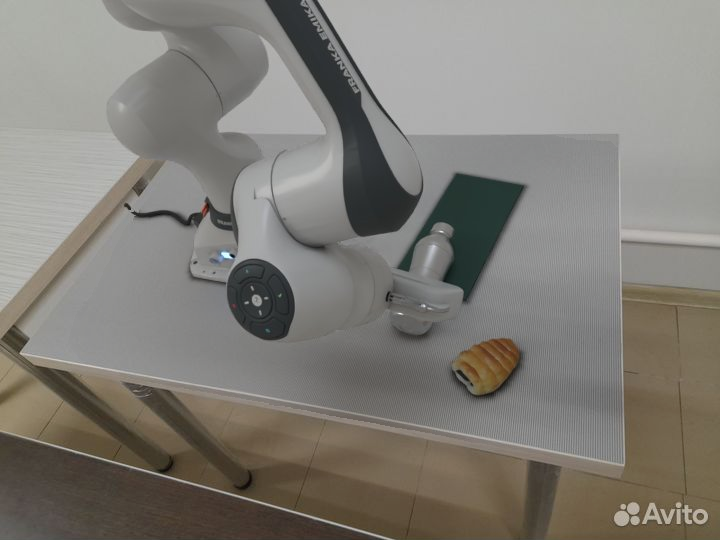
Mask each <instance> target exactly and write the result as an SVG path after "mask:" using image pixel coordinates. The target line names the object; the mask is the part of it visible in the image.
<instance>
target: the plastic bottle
mask: <svg viewBox="0 0 720 540" xmlns="http://www.w3.org/2000/svg"><path fill="white" fill-rule="evenodd" d="M453 236H454V229H453V228H452V226H450V225H449V224H446V223H442V222H440V223H436V224H435V225H434V226H433V228H432V230H431V231H430V233H429V236H426V237H424V238H422V239H421V240H420V241H419V242H418V243H417V244H416V246H415V249H414V253H413V257H412V262H411V266H410V269H409V272H410V273H413V274H417V275H420V276H424V277H427V278H431V279H434V280H438V281H441V282H443V280H444V278H445V276H446V274H447V272H448V270H449V268H450V267H451V265H452V263H453V261H454V250H453V247H452V245H451V242H452V240H453ZM388 316H389V320H390V322H391V324H392V326H393V327H395V328H396V329H397V330H398V331H401V332H402V333H405V334H408V335H412V336H420V335H423V334H425V333H426V332H428V331H429V330H430V329H431V327H432V325H433V323H434V322H432V321H425V320H420V319H417V318H413V317H410V316H407V315H404V314H401V313H398V312H395V311H392V310H389V315H388Z"/></svg>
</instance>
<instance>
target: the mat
mask: <svg viewBox="0 0 720 540" xmlns="http://www.w3.org/2000/svg"><path fill="white" fill-rule="evenodd" d="M523 189H524V184H518V183H513V182H507V181H501V180H496V179H490V178H485V177H481V176H474V175H468V174H463V173H455V175H454V176H453V178H452V180H451V182H450V183H449V185H448V187H447V188H446V190H445V191H444V193H443V195H442V196H441V198H440V199H439V201H438V203H437V204H436V206H435V208H434V209H433V210H432V212H431V214H430V215H429V217H428V219H427V221H426V222H425V224H424V225H423V226H422V228H421V230H420V231H419V233H418V235H417V236H416V238H415V240H414V241H413V243H412V244H411V246H410V247H409V250H408V251H407V253H406V254H405V256H404V257H403V259H402V261H401V262H400V264H399V266H398V267H397V269H399V270H403V271H406V272H409V269H410V266H411V262H412V257H413V253H414V249H415V246H416V244H417V243H418V242H419V241H420V240H421V239H422V238H424V237H426V236H429V233H430V231H431V230H432V228H433V226H434V225H435V224H436V223H440V222H442V223H446V224H449V225H450V226H452V228H453V229H454V236H453V240H452V242H451V245H452V247H453V250H454V261H453V263H452V265H451V267H450V268H449V270H448V272H447V274H446V276H445V278H444V280H443V282H445V283H448V284H451V285H455V286H458V287H460V288H461V289H462V290H463V292H464V294H463V300H462V302H466V301H467V299H468V297H469V295H470V293H471V291H472V289H473V287H474V285H475V283H476V281H477V279H478V277H479V276H480V273H481V272H482V269H483V268H484V266H485V264H486V262H487V260H488V258H489V256H490V254H491V252H492V250H493V248H494V246H495V244H496V242H497V240H498V238H499V236H500V234H501V232H502V230H503V228H504V226H505V224H506V222H507V220H508V218H509V216H510V214H511V212H512V210H513V208H514V206H515V204H516V202H517V201H518V198H519V196H520V194H521V193H522V191H523Z"/></svg>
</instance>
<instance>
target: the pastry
mask: <svg viewBox="0 0 720 540" xmlns="http://www.w3.org/2000/svg"><path fill="white" fill-rule="evenodd" d="M519 360H520V351H519V347H518V346H517V344H515V343H514V341H513V339H511V338H505V337H501V338H500V337H499V338H490V339H488V340H487V341H484V340H482V341H480V342H479V343H478V344H473V345H471V347H470V348H469V349H468V350H463V351H461V352H460V353H459V355H458V356H457V358H456V359H455V360H454V361H452V362H451V364H450V365H451V370H452V371H453V372H454V373H455V376H456V378H457V379H458V380H459V381H460V382H461V383H462V384H464V385H465V386H466V388H467V390H468V391H469V392H470V393H471V394H473V395H475V396H482V395H485V394H486V395H487V394H490V393H493V392H494V391H496V390H497V389H499V388H500V387H501V385H503V384H504V382H505V381H506V380H507V379H508V378H509V377H510V375H511V373H513V371H514V370H515V368H516V367H517V365H518V363H519Z"/></svg>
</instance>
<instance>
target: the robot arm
mask: <svg viewBox="0 0 720 540" xmlns="http://www.w3.org/2000/svg"><path fill="white" fill-rule="evenodd" d="M101 2H102V4H103V6H104V7H105V9H106V11H107V12H108V14H109V15H110V16H111V17H112V18H113V19H114V20H115V21H116V22H118V23H119V24H121V25H122V26H123V27H126V28H128V29H131V30H135V31H141V32H142V31H143V32H155V33H156V32H160V33H161V35H162V36H163V38H164V40H165V42H166V44H167V50H166V51H165V52H164V53H163V54H161V55H159V56H158V57H157V58H155V59H154V60H152V61H151V62H149V63H148V64H146V65H144V66H143V67H141V68H140V69H139V70H137V71H136V72H134V73H133V74H131V75H130V76H128V77H127V79H125V81H124V82H123V83H122V84H121V85H120V86H119V87H118V88H117V89H116V90H115V91H114V92H113V94H112V95H111V96H110V97H109V98H108V99H107V101H106V108H105V109H106V110H105V111H106V118H107V119H106V120H107V123H108V126H109V128H110V130H111V132H112V134H113V135H114V137H115V138H116V140H117V141H118V142H119V143H120V144H121V145H122V147H124V148H125V149H126V150H127V151H129V152H130V153H132V154H134V155H136V156H138V157H141V158H142V159H143V158H144V159H147V160H151V161H152V160H153V161H168V162H173V163H175V164H178V165H180V166H182V167H184V168H185V169H187V170H188V171H189V172H190V174H192V175H193V177H194V178H195V179H196V181H197V183H198V184H199V186H200V188H201V189H202V190H203V191H204V193H205V195H206V197H205V198H204V201H203V202H204V205H203V207H202V209H201V211H199V212H198V211H197V212H193V213H191V214H190V215H189V216H188V218H187V220H185V219H183V218H182V217H181V216H180V215H178V214H177V213H176V212H174V211H171V210H167V209H160V210H154V211H149V212H137V211H135V210H134V212H130V213H131V214H132V215H134V216H135V217H141V218H142V217H143V218H144V217H151V216H157V215H162V214H163V215H171V216H172V217H174V218H175V219H176V220H177V221H179V223H181V224H183V225H186V226H187V225H190V224H191V223H192V222H193V223H194V225H195V227H196V231H195V233H194V237H193V251H192V255H191V258H190V264H189V267H190V272H191V275H192V276H193V277H195V278H198V279H202V280H203V279H204V280H209V281H214V282H221V283H225V294H226V295H225V296H226V300H227V304H228V307H229V311H230V312H231V314H232V317H233V318H234V319H235V321H236V322H237V324H238V325H239V326H240V327H241V328H242V329H243V330H244V331H246V332H247V333H249V334H250V335H252V336H254V337H255V338H257V339H260V340H262V341H264V342H265V341H266V342H270V343H275V344H292V343H301V342H307V341H310V340H315V339H319V338H322V337H326V336H328V335H330V334H333V333H334V332H336V331H344V330H349V329H352V328H356V327H359V326H363V325H366V324H369V323H373V322H374V321H376V320H378V319H379V318H381V317H382V316H383V315H384V314H385V312H386V311H387V310H389V311H390V310H392V311H395V312H398V313H401V314H404V315H407V316H410V317H413V318H417V319H420V320H425V321H432V322H433V323H435V322H444V321H449V320H454V319H456V318H457V317H458V316H459V314H460V312H461V307H462V303H463V294H464V292H463V290H462V289H461V288H460V287H458V286H455V285H451V284H448V283H445V282H441V281H438V280H434V279H431V278H427V277H424V276H420V275H417V274H413V273H410V272H406V271H403V270H399V269H398V268H397V267H392V266H390V265H389V263H388V262H387V260H386V259H385V258H384V257H383V256H382V254H380V252H378V251H376V250H375V249H373V248H371V247H369V246H367V245H360V244H359V245H358V244H353V245H351V244H349V245H346V244H339V243H342V242H345V241H348V240H352V239H355V238H356V239H357V238H367V237H371V236H378V235H383V234H389V233H396V232H399V231H400V230H401V229H402V228H403V227H404V226H405V224H406V223H407V222H408V220H410V218H411V216H412V215H413V213H414V212H415V210H416V208H417V206H418V204H419V203H420V200H421V198H422V195H423V192H424V177H423V172H422V167H421V164H420V161H419V160H418V157H417V154H416V152H415V151H414V148H413V147H412V144H411V143H410V141H409V140H408V138H407V137H406V135H405V134H404V132H403V131H402V130H401V128H400V127H399V126H398V124H397V123H396V122H395V121H394V120H393V118H392V117H391V116H390V115H389V113H388V112H387V110H386V109H385V108H384V106H383V105H382V104H381V102H380V100H379V99H378V97H377V96H376V94H375V93H374V91H373V90H372V87H371V86H370V85H369V83H368V81H367V80H366V78H365V76H364V74H363V73H362V71H361V69H360V68H359V66H358V64H357V62H356V61H355V59H354V58H353V55H352V54H351V52H349V50H348V48H347V46H346V44H345V43H344V41H343V40H342V38H341V36H340V35H339V33H338V31H337V30H336V28H335V26H334V25H333V23H332V21H331V20H330V18H329V17H328V15H327V13H326V11H325V10H324V8H323V6H322V5H321V3H320V2H319V1H318V0H101ZM261 38H262V39H263V40H265V41H266V42H267V43H268V44H269V45H270V46H271V47H272V48H273V49H274V51H275V52H276V53H277V54H278V56H279V57H280V59H281V61H282V62H283V64H284V65H285V67H286V68H287V70H288V72H289V73H290V75H291V76H292V78H293V79H294V81H295V83H296V84H297V86H298V88H299V89H300V90H301V93H302V94H303V95H304V97H305V98H306V100H307V102H308V103H309V105H310V106H311V107H312V110H313V111H314V112H315V114H316V115H317V118H319V121H320V122H321V123H322V125H323V127H324V128H325V132H326V134H324V135H322V136H320V137H317V138H315V139H312V140H309V141H306V142H304V143H302V144H300V145H297V146H295V147H291V148H290V149H284V150H282V151H280V152H276V153H274V154H272V155H270V156H267V157H265V156H264V154H263V151H262V149H261V146H260V144H259V143H258V142H257V141H256V140H255V139H254V138H253V137H251V136H249V135H248V134H246V133H242V132H237V131H222V132H221V131H220V130H219V126H218V123H219V121H221V120H222V118H223V117H225V116H226V115H227V114H229V113H230V112H231V111H233V110H234V109H235V108H237V107H238V106H239V105H240V104H242V103H243V102H244V101H245V100H247V99H248V98H249V97H251V95H252V94H253V93H254V91H255V90H256V89H257V88H258V87H259V86H260V84H261V83H262V81H263V80H264V79H265V78H266V77H267V75H268V72H269V68H270V63H269V55H268V51H267V48H266V46H265V43H264V42H263V40H262V39H261ZM123 207H124V208H126V209H127V210H128V211H129V210H131V208H132V206H131V205H130V204H129V203H128V202H125V203H124V204H123Z"/></svg>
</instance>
